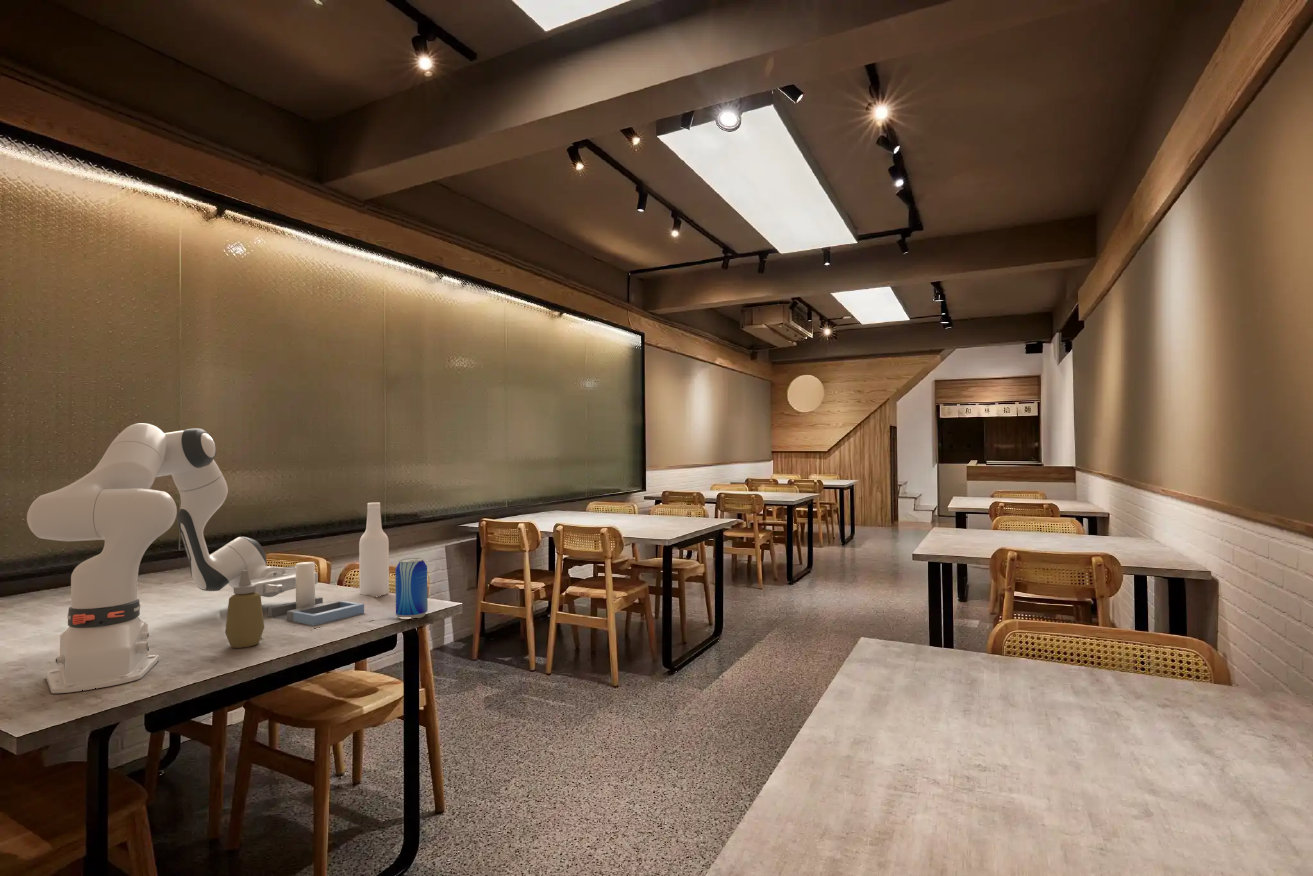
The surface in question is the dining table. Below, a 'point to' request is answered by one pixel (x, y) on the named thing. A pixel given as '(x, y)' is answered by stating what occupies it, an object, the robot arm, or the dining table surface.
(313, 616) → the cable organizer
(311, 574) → the plug post
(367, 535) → the alcohol
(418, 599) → the beer can
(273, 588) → the robot arm
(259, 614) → the squeeze bottle
